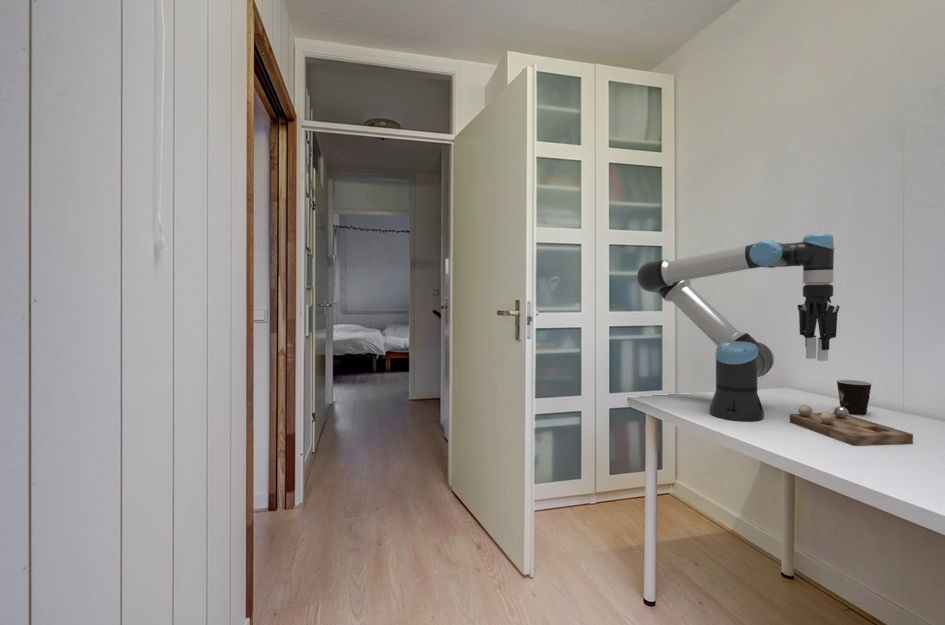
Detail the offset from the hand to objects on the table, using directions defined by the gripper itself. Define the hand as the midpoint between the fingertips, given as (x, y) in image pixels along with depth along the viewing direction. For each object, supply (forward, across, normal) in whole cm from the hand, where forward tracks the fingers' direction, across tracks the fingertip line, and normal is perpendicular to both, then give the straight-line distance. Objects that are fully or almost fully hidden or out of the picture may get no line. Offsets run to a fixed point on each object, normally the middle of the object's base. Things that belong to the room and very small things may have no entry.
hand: (816, 359), depth 141 cm
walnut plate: (+19, -14, +3) cm, 23 cm away
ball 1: (+14, -6, +8) cm, 18 cm away
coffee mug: (+19, +4, -16) cm, 25 cm away
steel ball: (+14, -9, 0) cm, 17 cm away
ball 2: (+14, -14, +8) cm, 22 cm away
